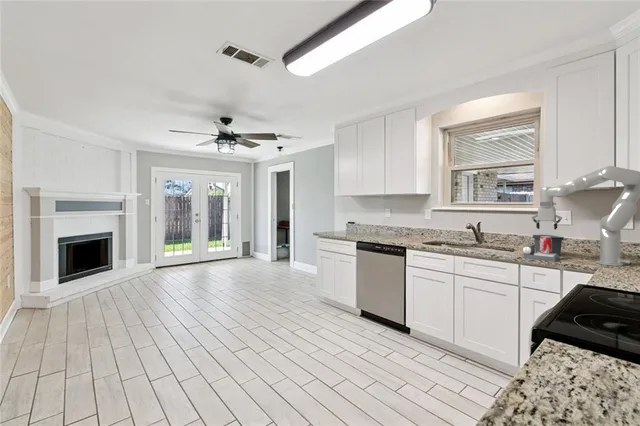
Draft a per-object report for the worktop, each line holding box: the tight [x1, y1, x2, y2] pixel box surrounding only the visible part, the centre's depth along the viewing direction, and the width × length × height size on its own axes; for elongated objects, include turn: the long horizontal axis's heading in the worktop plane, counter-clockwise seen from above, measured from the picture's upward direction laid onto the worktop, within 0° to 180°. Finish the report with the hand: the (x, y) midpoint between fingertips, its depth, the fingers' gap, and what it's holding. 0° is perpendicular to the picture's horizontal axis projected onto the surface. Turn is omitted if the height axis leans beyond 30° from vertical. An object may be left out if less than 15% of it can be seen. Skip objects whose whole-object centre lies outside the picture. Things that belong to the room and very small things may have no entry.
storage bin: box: [532, 234, 565, 257], centre depth 235 cm, size 21×16×14 cm
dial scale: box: [522, 243, 560, 263], centre depth 218 cm, size 18×13×9 cm
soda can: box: [539, 236, 552, 254], centre depth 216 cm, size 7×7×12 cm
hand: (546, 229), depth 216 cm, fingers open, 9 cm apart
